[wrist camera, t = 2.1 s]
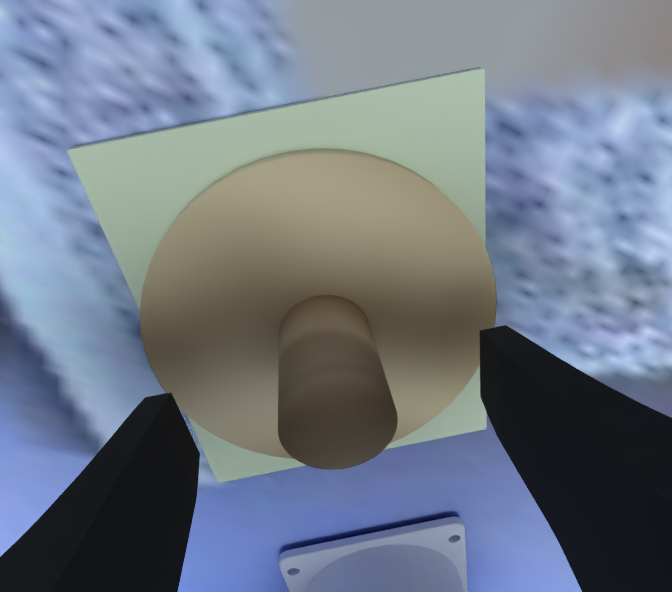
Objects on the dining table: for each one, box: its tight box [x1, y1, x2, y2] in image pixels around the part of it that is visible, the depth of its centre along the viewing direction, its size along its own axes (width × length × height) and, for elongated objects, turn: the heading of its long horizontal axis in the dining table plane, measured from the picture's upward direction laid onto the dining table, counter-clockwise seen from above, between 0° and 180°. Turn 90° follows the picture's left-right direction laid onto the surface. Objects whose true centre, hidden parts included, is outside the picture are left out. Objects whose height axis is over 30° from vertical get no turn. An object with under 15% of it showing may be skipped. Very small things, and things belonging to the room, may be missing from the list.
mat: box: [67, 67, 486, 483], centre depth 14 cm, size 12×10×1 cm
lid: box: [140, 149, 497, 469], centre depth 12 cm, size 10×10×4 cm
